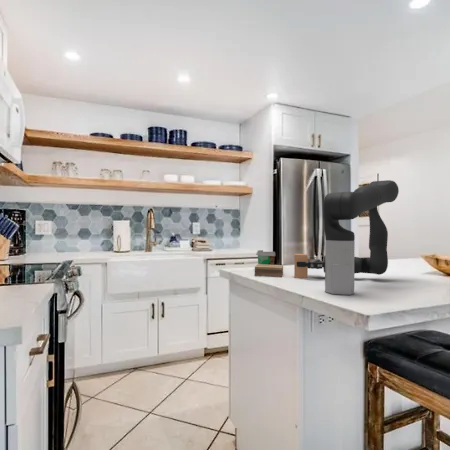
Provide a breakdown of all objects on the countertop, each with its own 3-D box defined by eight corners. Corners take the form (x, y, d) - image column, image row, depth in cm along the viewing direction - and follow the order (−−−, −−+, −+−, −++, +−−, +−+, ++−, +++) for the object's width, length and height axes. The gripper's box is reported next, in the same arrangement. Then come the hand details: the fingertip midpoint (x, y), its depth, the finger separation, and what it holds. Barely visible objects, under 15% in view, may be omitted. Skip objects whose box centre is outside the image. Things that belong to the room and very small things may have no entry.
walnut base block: (282, 277, 145) (282, 267, 145) (254, 276, 147) (254, 267, 147) (283, 273, 156) (283, 265, 156) (257, 272, 159) (257, 264, 159)
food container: (251, 269, 170) (251, 250, 170) (262, 269, 172) (262, 250, 172) (264, 272, 158) (264, 251, 159) (275, 272, 161) (275, 251, 161)
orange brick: (307, 278, 142) (307, 255, 142) (294, 277, 143) (294, 254, 143) (307, 276, 147) (307, 254, 147) (294, 276, 148) (294, 253, 148)
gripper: (333, 254, 149) (296, 253, 152) (337, 257, 135) (296, 255, 139) (333, 271, 149) (296, 269, 152) (337, 275, 135) (296, 273, 138)
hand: (296, 263), depth 145 cm, fingers open, 8 cm apart
